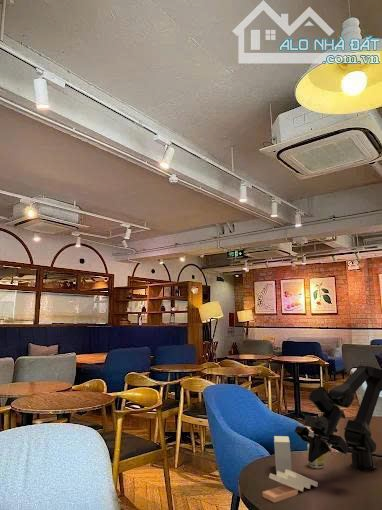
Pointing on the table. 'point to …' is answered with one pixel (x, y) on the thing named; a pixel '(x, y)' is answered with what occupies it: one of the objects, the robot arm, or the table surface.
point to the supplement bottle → (316, 461)
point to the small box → (282, 453)
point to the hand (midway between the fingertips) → (309, 461)
